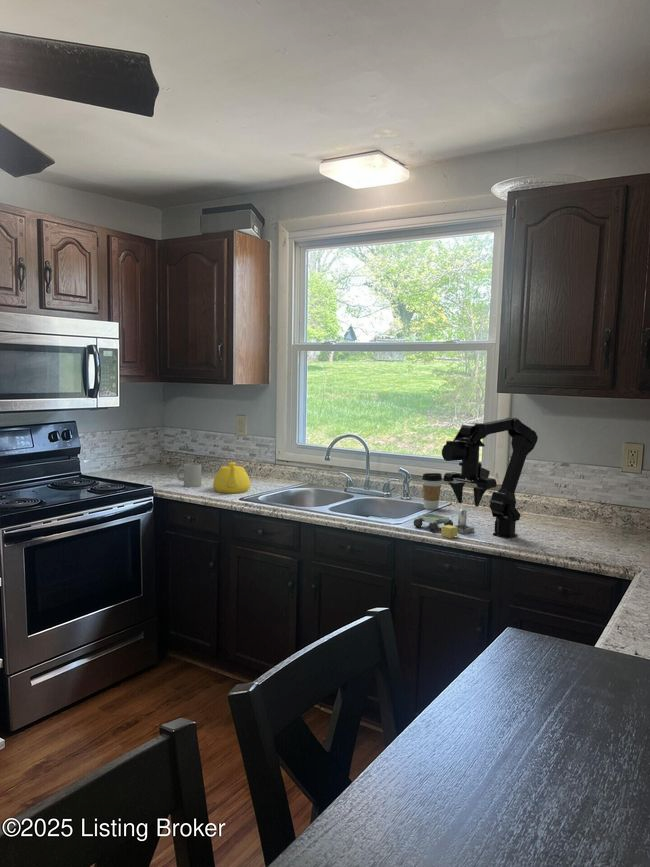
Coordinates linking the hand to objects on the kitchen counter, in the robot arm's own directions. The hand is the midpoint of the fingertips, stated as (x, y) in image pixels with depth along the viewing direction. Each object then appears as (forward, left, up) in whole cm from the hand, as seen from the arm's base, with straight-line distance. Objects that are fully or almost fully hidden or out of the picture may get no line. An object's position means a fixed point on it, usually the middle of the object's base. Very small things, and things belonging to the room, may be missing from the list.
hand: (468, 504), depth 217 cm
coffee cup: (+45, -31, -13) cm, 56 cm away
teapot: (+125, +21, -13) cm, 127 cm away
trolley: (+19, -4, -12) cm, 23 cm away
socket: (+10, -9, -12) cm, 18 cm away
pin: (+10, -9, -12) cm, 18 cm away
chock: (+8, 0, -13) cm, 15 cm away
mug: (+148, +32, -13) cm, 152 cm away
